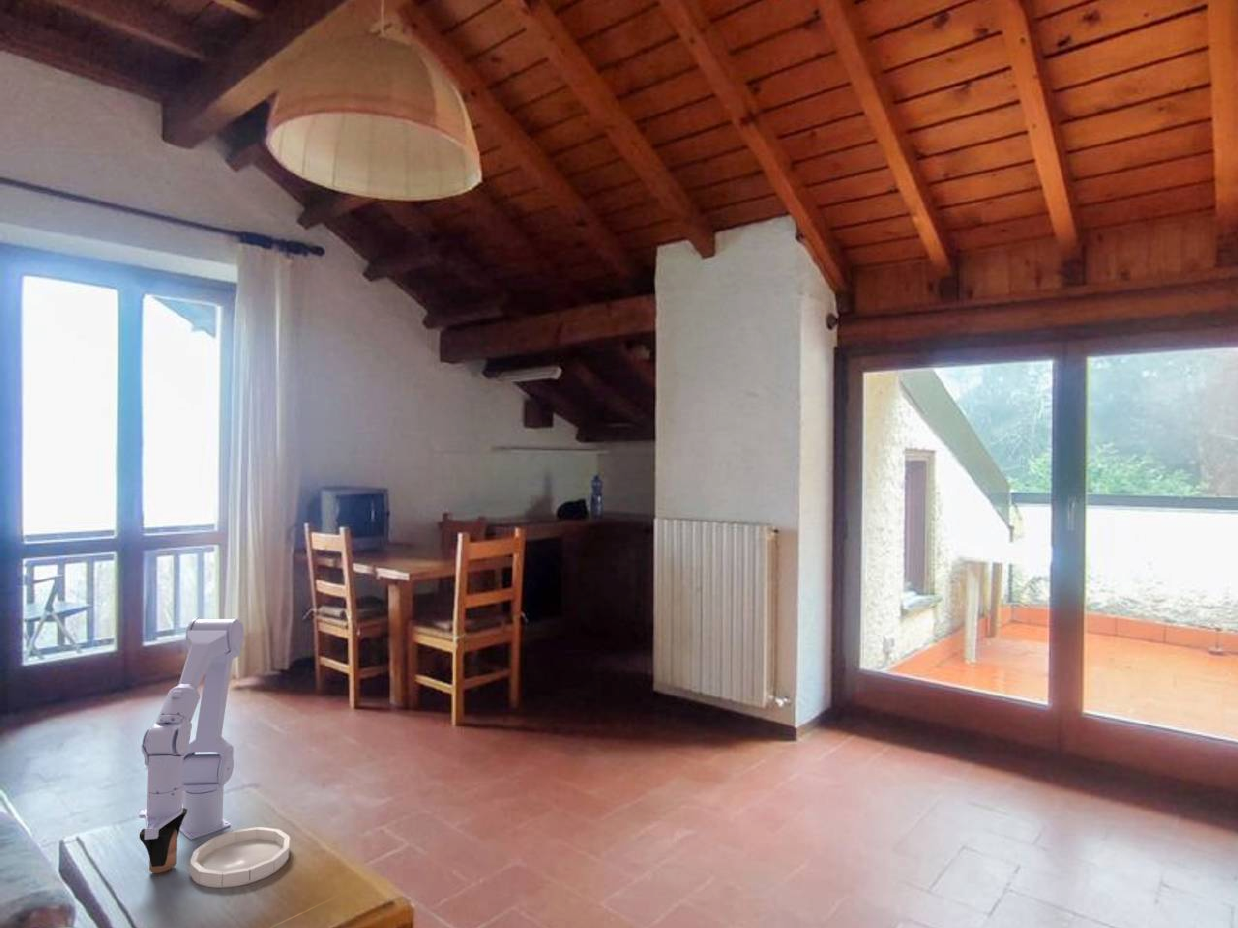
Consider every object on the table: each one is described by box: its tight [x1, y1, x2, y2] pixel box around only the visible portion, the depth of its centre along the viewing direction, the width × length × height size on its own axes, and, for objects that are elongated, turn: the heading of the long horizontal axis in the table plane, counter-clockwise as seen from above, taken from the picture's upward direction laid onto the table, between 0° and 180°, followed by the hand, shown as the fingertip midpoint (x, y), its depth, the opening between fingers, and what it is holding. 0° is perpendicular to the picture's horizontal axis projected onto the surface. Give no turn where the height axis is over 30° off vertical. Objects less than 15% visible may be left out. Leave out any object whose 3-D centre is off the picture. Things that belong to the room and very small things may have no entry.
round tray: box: [188, 826, 291, 889], centre depth 141 cm, size 17×17×3 cm
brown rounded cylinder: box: [148, 830, 178, 873], centre depth 138 cm, size 4×4×6 cm
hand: (163, 858), depth 138 cm, fingers closed on brown rounded cylinder, 4 cm apart
